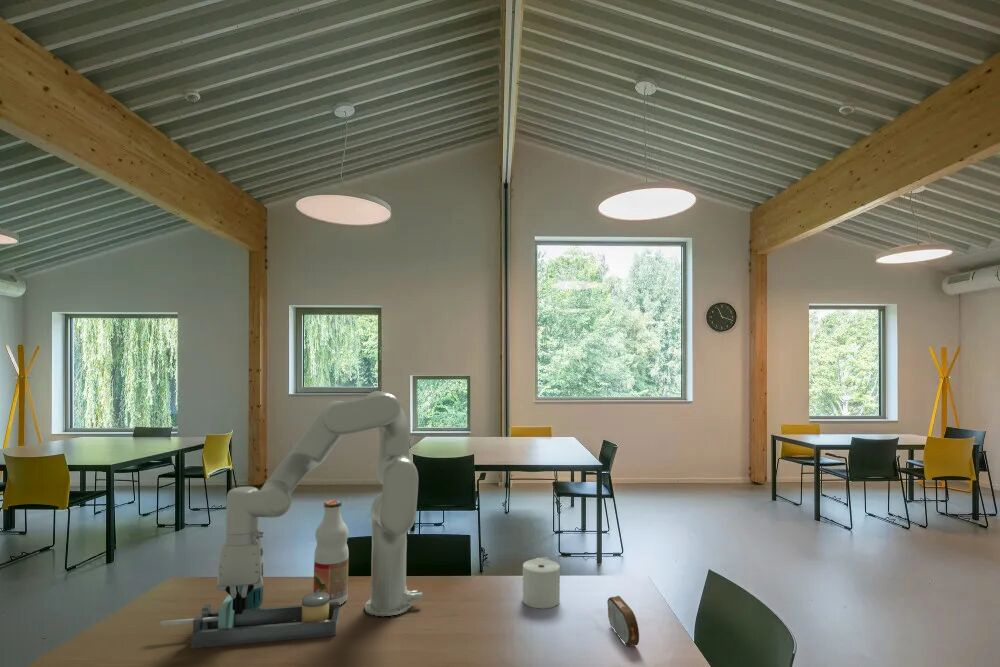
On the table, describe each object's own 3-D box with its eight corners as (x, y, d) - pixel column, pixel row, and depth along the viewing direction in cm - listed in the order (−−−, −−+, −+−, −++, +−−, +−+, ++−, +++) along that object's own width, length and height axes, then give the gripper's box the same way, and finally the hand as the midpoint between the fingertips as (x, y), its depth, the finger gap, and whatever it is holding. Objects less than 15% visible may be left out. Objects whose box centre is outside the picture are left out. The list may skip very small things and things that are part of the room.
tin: (640, 652, 132) (640, 615, 133) (627, 653, 132) (627, 616, 132) (616, 623, 147) (616, 590, 148) (605, 623, 147) (605, 591, 147)
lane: (339, 615, 150) (339, 592, 151) (335, 635, 139) (336, 610, 140) (205, 626, 144) (206, 602, 144) (190, 648, 133) (191, 622, 133)
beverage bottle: (253, 617, 149) (255, 541, 150) (231, 615, 150) (233, 539, 151) (267, 607, 155) (269, 533, 156) (246, 604, 156) (248, 532, 158)
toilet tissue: (528, 610, 154) (528, 573, 155) (517, 593, 166) (517, 558, 166) (565, 607, 157) (565, 570, 157) (551, 590, 168) (551, 556, 169)
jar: (330, 620, 148) (330, 591, 148) (327, 632, 141) (328, 601, 142) (303, 622, 146) (303, 592, 147) (299, 634, 140) (299, 603, 140)
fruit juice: (345, 607, 155) (348, 505, 156) (310, 610, 153) (313, 506, 155) (349, 593, 164) (351, 497, 166) (315, 596, 163) (318, 498, 164)
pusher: (233, 625, 144) (234, 594, 144) (224, 641, 135) (225, 608, 136) (166, 630, 140) (168, 599, 141) (153, 647, 132) (154, 613, 133)
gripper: (276, 531, 146) (273, 603, 145) (214, 534, 143) (211, 608, 142) (270, 540, 139) (268, 616, 138) (205, 544, 136) (202, 621, 135)
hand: (239, 612), depth 140 cm, fingers closed
